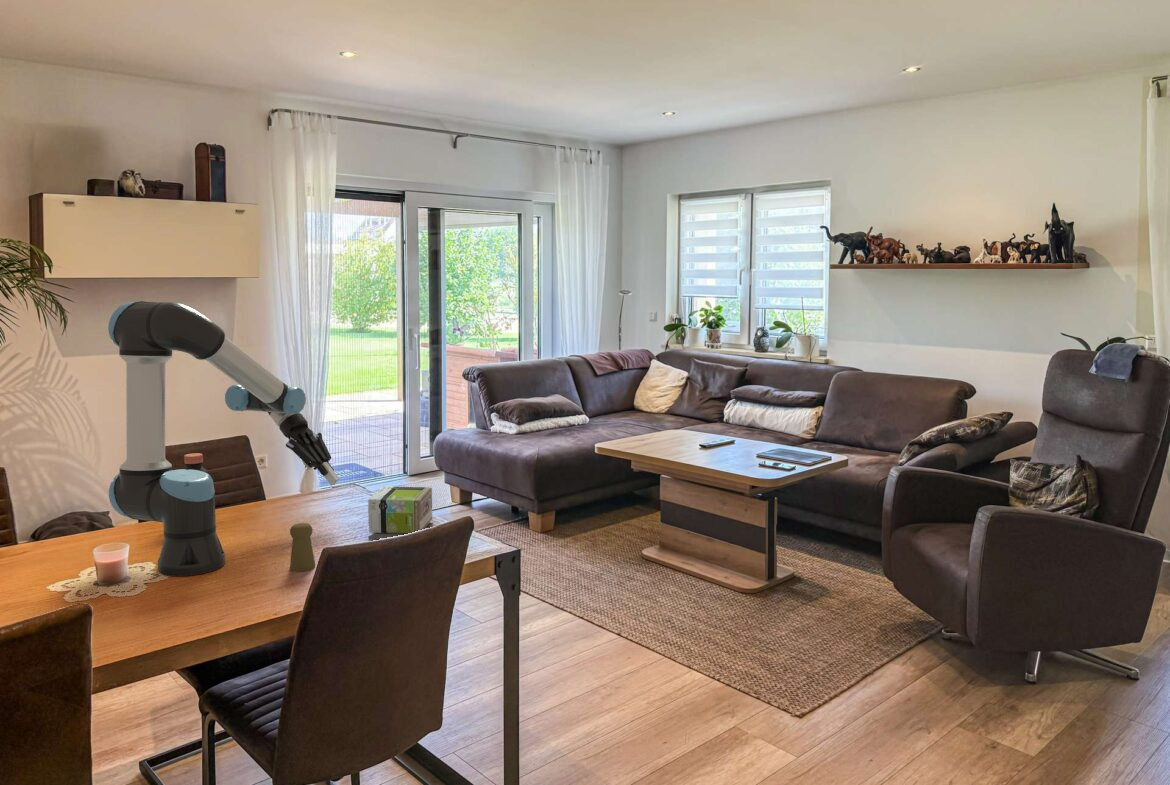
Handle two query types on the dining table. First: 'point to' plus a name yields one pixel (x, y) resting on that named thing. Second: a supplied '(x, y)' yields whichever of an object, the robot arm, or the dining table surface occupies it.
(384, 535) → the mat
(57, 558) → the dining table surface
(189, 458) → the bottle
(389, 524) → the tea box
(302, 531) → the olive green pawn
